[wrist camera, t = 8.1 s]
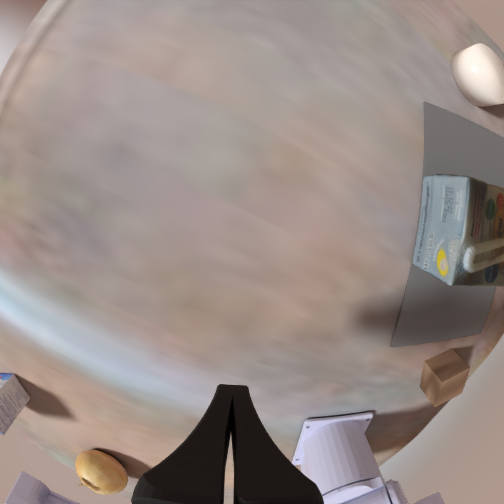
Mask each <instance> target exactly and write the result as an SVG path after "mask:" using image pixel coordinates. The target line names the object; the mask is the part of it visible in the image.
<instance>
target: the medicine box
mask: <svg viewBox="0 0 504 504" xmlns="http://www.w3.org/2000/svg"><path fill="white" fill-rule="evenodd" d="M29 399H30V397H29V395H28V394H27V392H26V391H25V389H24V388H23V386H22V385H21V383H20V382H19V381H18V379H17V378H16V376H15V374H0V434H2V435H4V434H5V433H6V431H7V430H8V429H9V427H10V426H11V425H12V423H13V422H14V420H15V419H16V417H17V416H18V415H19V413H20V412H21V411H22V409H23V408H24V406H25V405H26V404H27V402H28V401H29Z"/></svg>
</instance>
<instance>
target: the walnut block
mask: <svg viewBox="0 0 504 504" xmlns="http://www.w3.org/2000/svg"><path fill="white" fill-rule="evenodd" d="M469 369H470V367H469V366H468V365H467V363H466V362H465V361H464V360H463V359H462V358H461V357H460V356H459V355H458V354H457V353H456V352H455V351H454V350H453V349H450V350H448V351H446V352H444V353H441V354H439V355H437V356H435V357H433V358H431V359H428V360H426V361H424V366H423V372H422V377H421V382H420V388H421V389H422V390H423V392H424V393H425V395H426V396H427V397H428V399H429V400H430V402H431V403H432V404H433V406H434V407H437V406H439V405H441V404H443V403H444V402H446V401H448V400H450V399H452V398H454V397H455V396H457V395H459V394H461V393H462V391H463V388H464V386H465V382H466V379H467V376H468V373H469Z"/></svg>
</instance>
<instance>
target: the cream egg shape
mask: <svg viewBox="0 0 504 504" xmlns="http://www.w3.org/2000/svg"><path fill="white" fill-rule="evenodd" d="M451 69H452V73H453V77H454V79H455V82H456V84H457V86H458V88H459V89H460V91H461V92H462V94H463V95H464V96H465V98H466V99H467V100H468V101H469V102H470V103H472V104H473V105H475V106H477V107H486V106H492V105H498V104H504V66H503V64H502V62H501V61H500V59H499V58H498V56H497V55H496V54H495V53H494V52H493V51H492V50H491V49H490V48H489V47H487V46H486V45H484V44H475V45H473V46H471V47H468V48H466V49H464V50H462V51H459V52H457V53H455V54H454V55H453V57H452V60H451Z"/></svg>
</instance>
